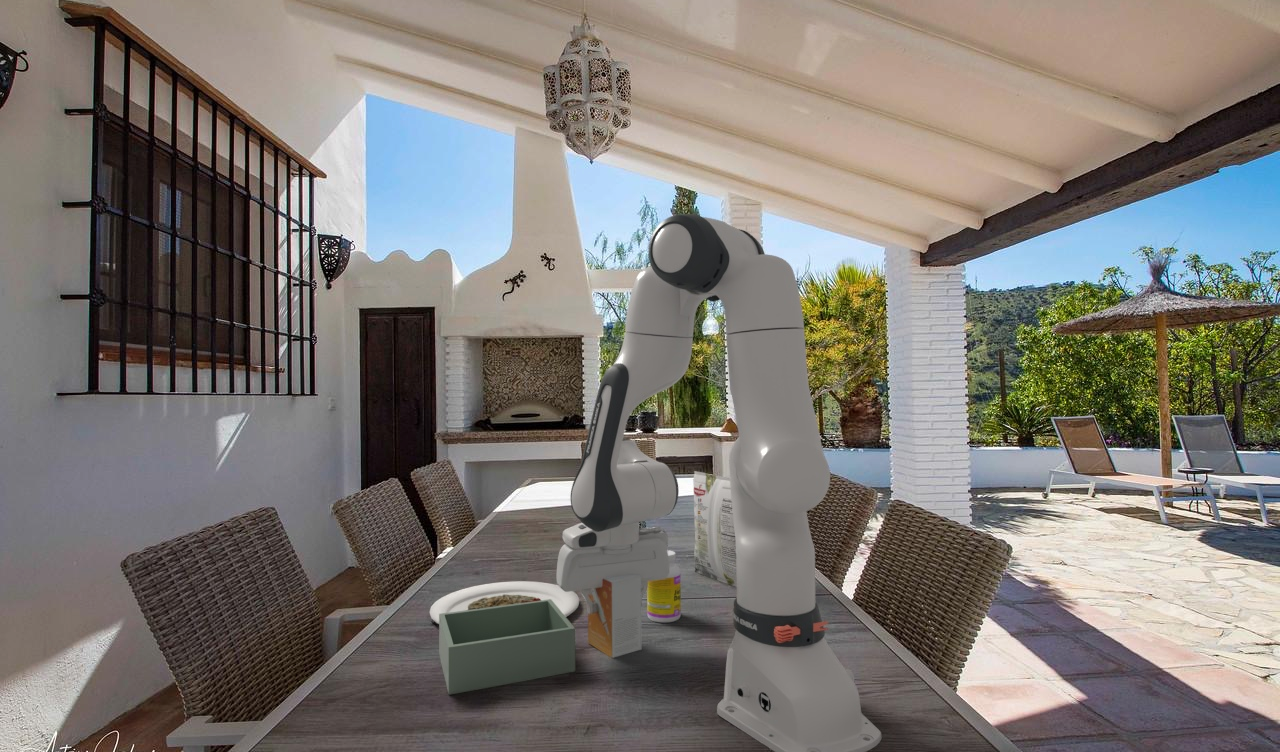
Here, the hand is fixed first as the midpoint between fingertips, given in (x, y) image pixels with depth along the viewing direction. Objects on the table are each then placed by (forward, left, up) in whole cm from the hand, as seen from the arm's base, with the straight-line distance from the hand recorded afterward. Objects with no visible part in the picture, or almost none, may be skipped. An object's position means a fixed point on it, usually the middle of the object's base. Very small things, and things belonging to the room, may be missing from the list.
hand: (614, 609), depth 114 cm
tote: (+1, +19, -7) cm, 20 cm away
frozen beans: (+26, -36, -7) cm, 45 cm away
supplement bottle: (+10, -14, -7) cm, 18 cm away
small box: (0, 0, -7) cm, 7 cm away
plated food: (+27, +14, -7) cm, 31 cm away
